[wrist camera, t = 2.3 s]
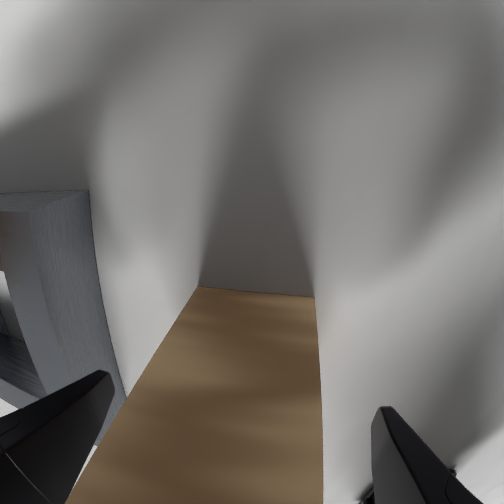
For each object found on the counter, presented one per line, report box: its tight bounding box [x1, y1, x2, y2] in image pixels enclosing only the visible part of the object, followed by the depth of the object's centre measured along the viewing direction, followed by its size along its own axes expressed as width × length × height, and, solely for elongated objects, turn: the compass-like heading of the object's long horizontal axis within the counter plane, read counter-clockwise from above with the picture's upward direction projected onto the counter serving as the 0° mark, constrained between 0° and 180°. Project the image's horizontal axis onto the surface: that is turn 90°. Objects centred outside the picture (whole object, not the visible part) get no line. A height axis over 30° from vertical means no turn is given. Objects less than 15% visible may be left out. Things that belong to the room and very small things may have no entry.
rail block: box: [0, 191, 126, 446], centre depth 12 cm, size 11×12×4 cm
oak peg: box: [65, 286, 323, 504], centre depth 8 cm, size 4×4×10 cm
